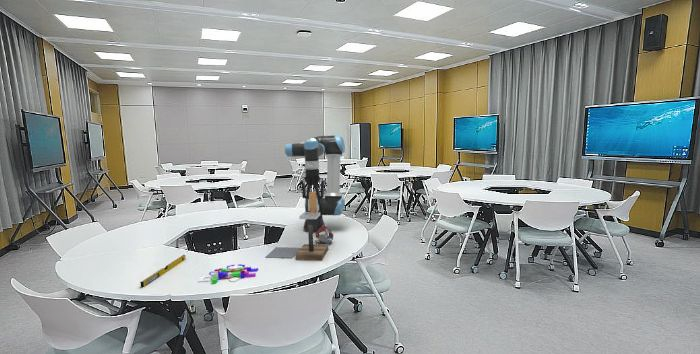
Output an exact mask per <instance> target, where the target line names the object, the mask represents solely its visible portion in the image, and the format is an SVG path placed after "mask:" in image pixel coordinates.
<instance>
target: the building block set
mask: <svg viewBox="0 0 700 354" xmlns="http://www.w3.org/2000/svg"><path fill="white" fill-rule="evenodd" d="M258 271H259V268H258V267H256V268H252V267H251V266H246V264H241V263H240V264H236V265H235V264H231V265H226V268H221V267H220V268H216V269H214V271H210V272H209V273H208V274H209V275H205V276H203V275H202V276H200V278H199V279H198V280H197V283H208V282H211V284H212V285H216V284H217V283H218V281H219V280H228V281H229V282H231V283H236V282H238V281H240V280H241V279H245V278H255V277H256V272H258Z"/></svg>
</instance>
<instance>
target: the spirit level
mask: <svg viewBox="0 0 700 354" xmlns="http://www.w3.org/2000/svg"><path fill="white" fill-rule="evenodd" d="M184 261H186V255H185V254H182V255H181V256H179V257H177V259H174V260H173V261H172V262H170V263H168V264H167V265H165V267H164V268H160V269H159V270H157V271H155V272H154V273H153V274H152V275H150V276H147V278H145V279H143V280H142V281H139V284H140V288H141V287H144V288H146V286H148V285H150V284H152V283H153V282H154V281H156V280H157V279H159V278H160V277H162V276H164V275H165V274H166V273H168V272H170V271H172V269H174V268H175V267H177V266H178V265H180V264H181V263H182V262H184Z"/></svg>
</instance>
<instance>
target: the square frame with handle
mask: <svg viewBox="0 0 700 354" xmlns="http://www.w3.org/2000/svg"><path fill="white" fill-rule="evenodd" d="M316 199H317V194H316V191H310V192H309V211H310V212H305V211H304V212H302V213H301V214H300V215H299V220H306V219H317V218H318V217H319V216H320V212H318V211H317V206H316Z"/></svg>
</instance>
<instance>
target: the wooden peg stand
mask: <svg viewBox="0 0 700 354" xmlns="http://www.w3.org/2000/svg"><path fill="white" fill-rule="evenodd" d="M307 234H308V243H304V244H303V245H302V246H301V247H300V248H301V249H300V250H299V251H298V252H297V253H296V254H295V256H294V257H295V261H310V262H311V261H313V262H314V261H317V262H318V261H320V262H321V261H323V260H324V258H325V257H326V255H327V254H328V251H329V245H326V244H315V243H314V233H313V225H308V232H307Z"/></svg>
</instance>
